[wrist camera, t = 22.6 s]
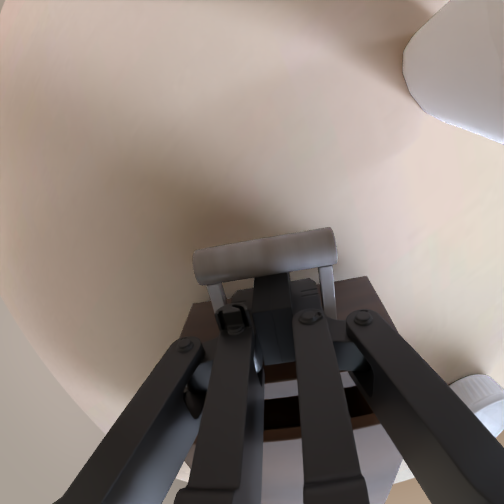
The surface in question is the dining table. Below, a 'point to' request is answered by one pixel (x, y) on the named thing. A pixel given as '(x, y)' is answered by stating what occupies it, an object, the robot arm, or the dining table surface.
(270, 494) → the cabinet
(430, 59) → the foam cup
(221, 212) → the dining table surface
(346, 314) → the drawer
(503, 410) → the ramekin
